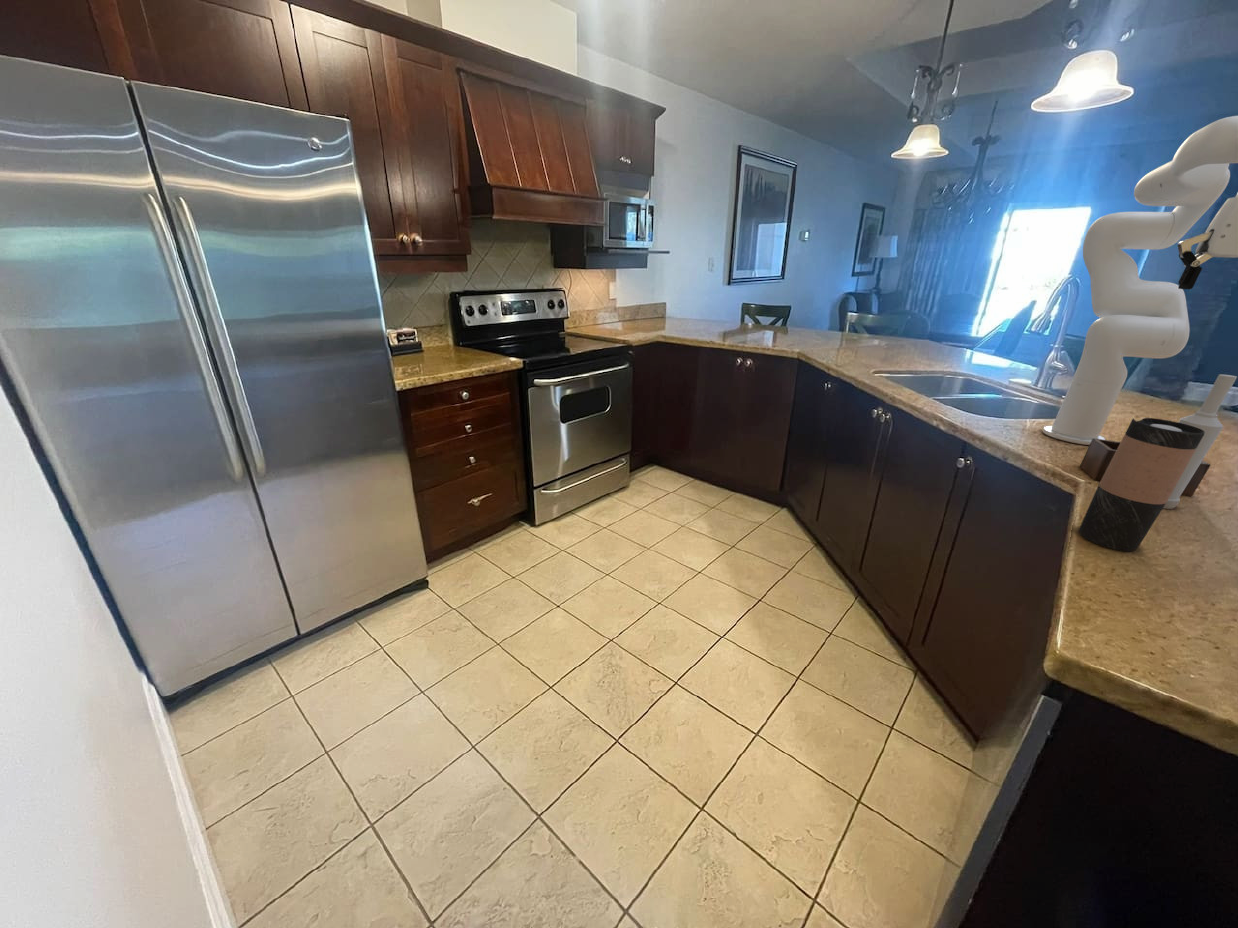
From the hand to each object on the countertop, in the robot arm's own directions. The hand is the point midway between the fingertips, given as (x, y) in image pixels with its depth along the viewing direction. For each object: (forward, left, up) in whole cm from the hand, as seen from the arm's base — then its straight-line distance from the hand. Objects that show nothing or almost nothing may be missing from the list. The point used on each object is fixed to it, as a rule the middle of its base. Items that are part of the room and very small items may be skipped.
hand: (1218, 290), depth 90 cm
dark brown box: (+6, -1, -38) cm, 39 cm away
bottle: (+18, -2, -38) cm, 43 cm away
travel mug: (+41, -17, -38) cm, 59 cm away
